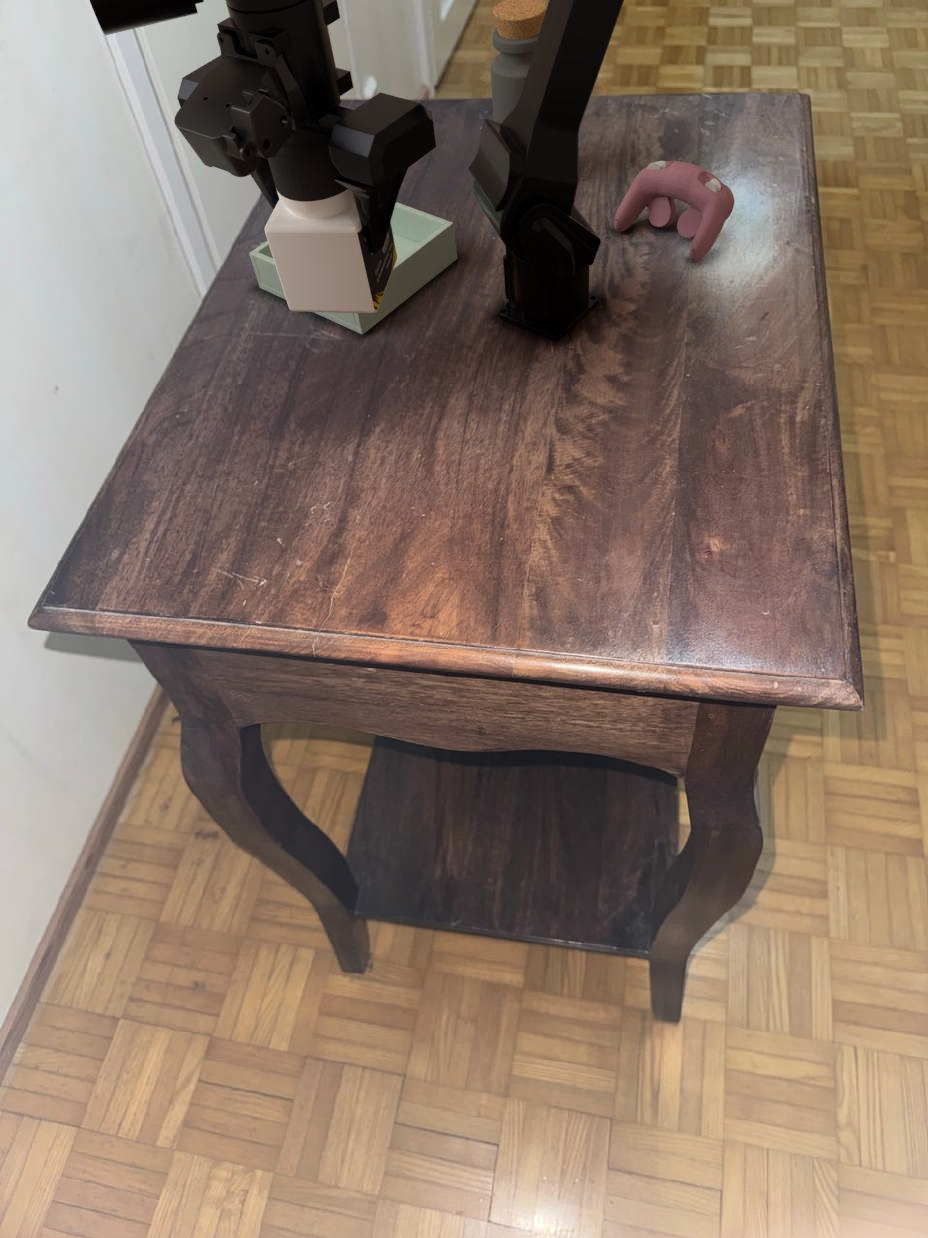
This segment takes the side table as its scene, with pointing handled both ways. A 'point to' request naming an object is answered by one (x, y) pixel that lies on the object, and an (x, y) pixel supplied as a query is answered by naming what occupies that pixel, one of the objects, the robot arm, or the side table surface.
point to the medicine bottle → (322, 234)
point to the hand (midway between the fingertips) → (329, 233)
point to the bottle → (513, 51)
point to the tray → (419, 260)
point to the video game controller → (688, 186)
